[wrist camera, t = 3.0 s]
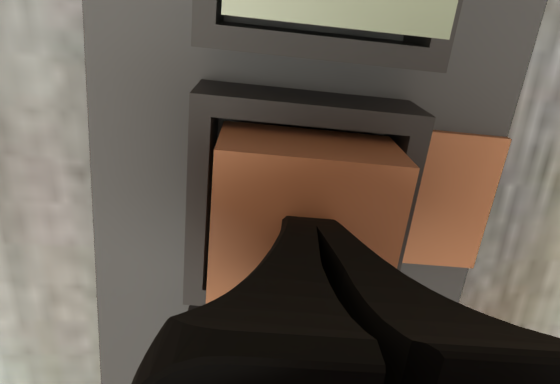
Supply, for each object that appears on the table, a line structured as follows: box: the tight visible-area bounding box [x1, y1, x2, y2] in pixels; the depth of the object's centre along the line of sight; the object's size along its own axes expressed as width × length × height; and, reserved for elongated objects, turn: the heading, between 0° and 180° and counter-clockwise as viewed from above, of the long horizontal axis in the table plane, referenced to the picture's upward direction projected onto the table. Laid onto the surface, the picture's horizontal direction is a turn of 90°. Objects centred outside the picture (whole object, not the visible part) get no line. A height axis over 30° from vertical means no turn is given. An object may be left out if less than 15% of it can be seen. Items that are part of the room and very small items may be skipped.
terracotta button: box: [206, 121, 420, 304], centre depth 13 cm, size 5×5×3 cm
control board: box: [82, 0, 548, 384], centre depth 16 cm, size 14×27×4 cm, turn 174°
